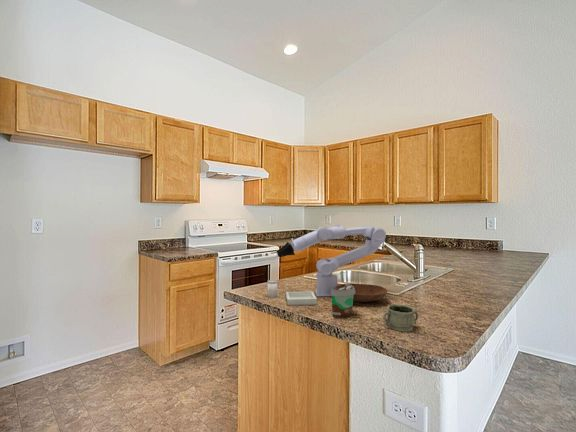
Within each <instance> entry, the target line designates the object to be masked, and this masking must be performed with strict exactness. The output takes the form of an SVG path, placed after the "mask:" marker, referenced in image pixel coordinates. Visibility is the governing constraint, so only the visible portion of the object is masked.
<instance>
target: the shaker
mask: <svg viewBox="0 0 576 432" xmlns="http://www.w3.org/2000/svg"><path fill="white" fill-rule="evenodd" d="M277 297H278V280H276V279H269V280H268V279H267V298H269V299H270V298H271V299H274V298H277Z"/></svg>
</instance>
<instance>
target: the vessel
mask: <svg viewBox="0 0 576 432" xmlns="http://www.w3.org/2000/svg"><path fill="white" fill-rule="evenodd" d="M418 319H419V313H418V311H417V310H415V307H413V306H410V305H406V304H401V303H395V304H389V305H388V306H387V311H385V312H384V313H383V320H384V322H385V326H387V327H389V326H390V327H389V328H391V329H393V330H394V331H399V332H411V331H413V330H414V327H413V325H417V321H418Z"/></svg>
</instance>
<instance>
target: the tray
mask: <svg viewBox="0 0 576 432" xmlns="http://www.w3.org/2000/svg"><path fill="white" fill-rule="evenodd" d="M285 299H286V305H287V307H289V306H292V307H293V306H317V305H318V298H317V295H316V293H315V292H314V291H312V290H311V291H306V290H305V291H304V290H303V291H302V290H301V291H285Z"/></svg>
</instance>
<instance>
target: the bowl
mask: <svg viewBox="0 0 576 432" xmlns="http://www.w3.org/2000/svg"><path fill="white" fill-rule="evenodd" d="M345 284H346V283H343V284H338V286H336V287H335V289H336V290H337V289H338V288H340V287H344V286H345ZM349 284H350V285H352V286H354V289H355V294H354V295H353V302H360V303H371V302H375V301H379V300H381V299H383V298H384V297H385V296H386V295H387V294H388V289H387V288H385V287H383V286H380V285H376V284H368V283H349Z"/></svg>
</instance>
